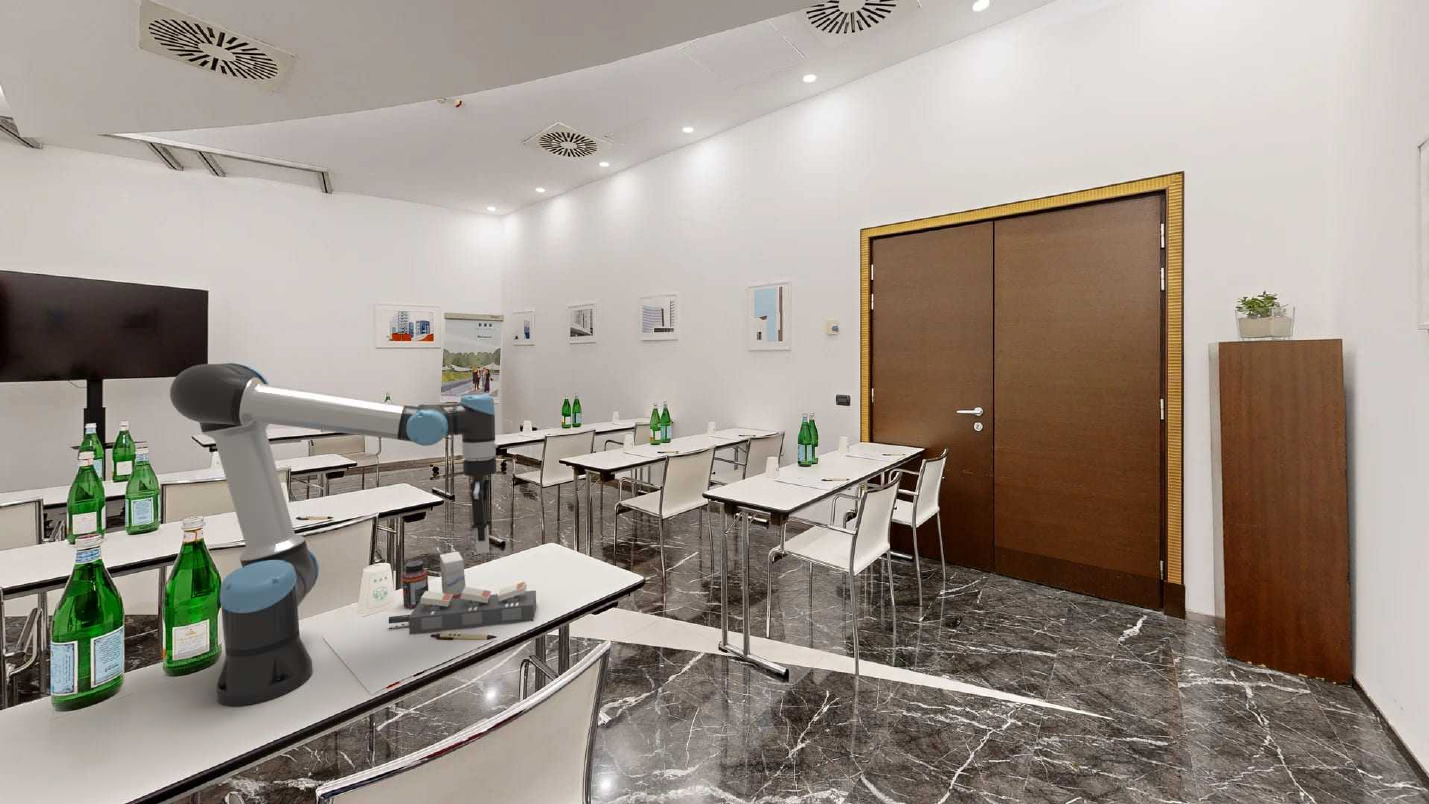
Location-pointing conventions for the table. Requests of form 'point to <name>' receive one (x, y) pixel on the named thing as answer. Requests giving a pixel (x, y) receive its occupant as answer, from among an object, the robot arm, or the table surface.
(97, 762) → the table surface
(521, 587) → the rocker
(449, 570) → the ink box
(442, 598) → the rocker
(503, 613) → the rocker switch strip
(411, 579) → the supplement bottle
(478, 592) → the rocker
